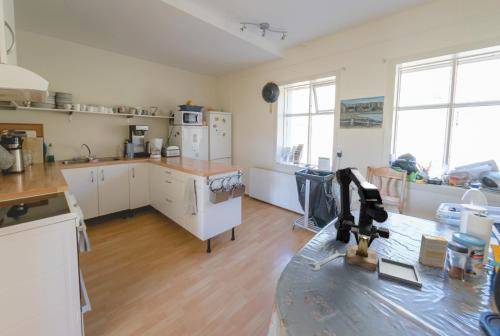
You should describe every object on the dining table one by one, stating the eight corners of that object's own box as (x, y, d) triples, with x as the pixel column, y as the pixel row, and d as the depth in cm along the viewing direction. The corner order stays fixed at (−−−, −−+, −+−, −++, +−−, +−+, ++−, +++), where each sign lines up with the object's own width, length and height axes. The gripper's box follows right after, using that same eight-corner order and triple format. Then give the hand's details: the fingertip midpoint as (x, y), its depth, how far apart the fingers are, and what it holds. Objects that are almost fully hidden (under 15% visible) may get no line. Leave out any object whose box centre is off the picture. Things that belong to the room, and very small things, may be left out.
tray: (379, 276, 91) (379, 272, 90) (378, 260, 103) (378, 256, 102) (421, 288, 84) (422, 283, 84) (415, 269, 96) (415, 265, 96)
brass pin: (356, 256, 101) (358, 238, 100) (357, 252, 105) (359, 234, 103) (366, 258, 100) (368, 240, 98) (366, 254, 103) (368, 236, 102)
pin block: (346, 262, 100) (346, 256, 100) (348, 250, 111) (349, 245, 110) (376, 270, 95) (377, 264, 94) (375, 257, 105) (376, 251, 105)
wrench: (305, 267, 97) (314, 274, 92) (305, 264, 96) (315, 270, 92) (338, 250, 111) (348, 255, 107) (338, 248, 111) (348, 252, 106)
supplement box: (439, 263, 102) (443, 236, 100) (444, 269, 97) (449, 241, 95) (417, 259, 104) (421, 233, 102) (421, 265, 100) (426, 237, 98)
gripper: (342, 215, 97) (339, 248, 99) (392, 224, 88) (387, 260, 90) (344, 208, 106) (342, 238, 109) (390, 216, 97) (386, 248, 100)
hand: (362, 246), depth 102 cm, fingers closed on brass pin, 4 cm apart
